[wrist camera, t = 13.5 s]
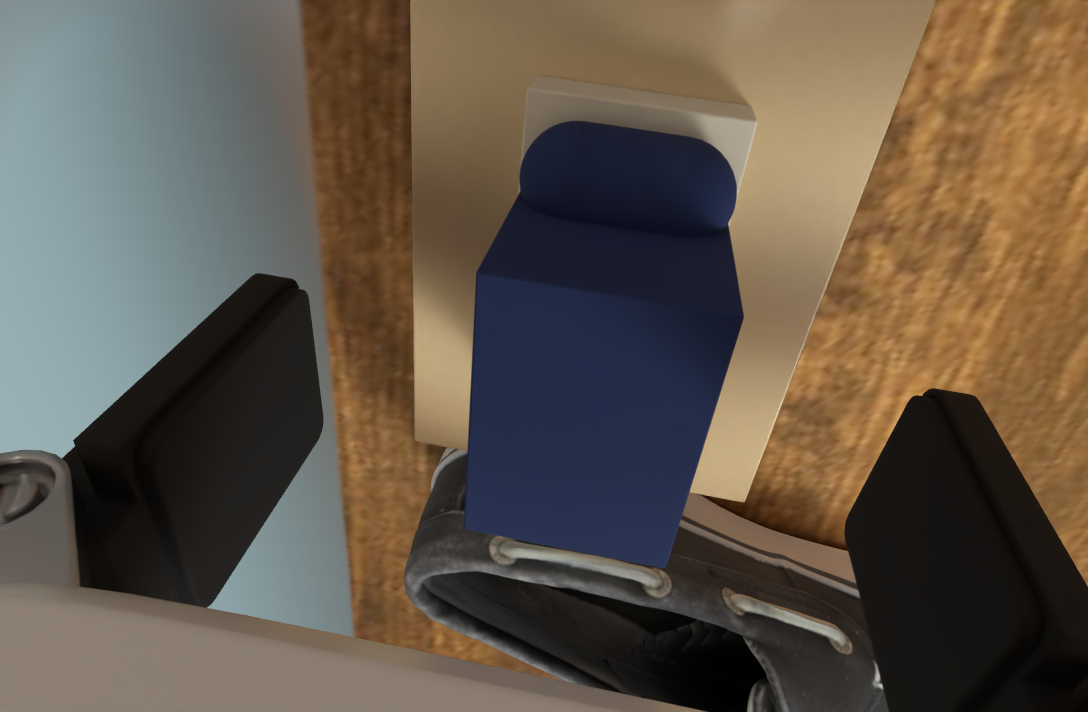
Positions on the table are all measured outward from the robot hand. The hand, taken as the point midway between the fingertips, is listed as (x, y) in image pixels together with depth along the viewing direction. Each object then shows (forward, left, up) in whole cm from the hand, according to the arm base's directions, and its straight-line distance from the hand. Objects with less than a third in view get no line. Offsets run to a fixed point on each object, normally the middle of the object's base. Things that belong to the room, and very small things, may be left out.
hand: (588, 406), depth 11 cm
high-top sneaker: (0, 0, -6) cm, 6 cm away
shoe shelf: (0, 0, -10) cm, 10 cm away
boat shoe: (+15, -4, -11) cm, 19 cm away
